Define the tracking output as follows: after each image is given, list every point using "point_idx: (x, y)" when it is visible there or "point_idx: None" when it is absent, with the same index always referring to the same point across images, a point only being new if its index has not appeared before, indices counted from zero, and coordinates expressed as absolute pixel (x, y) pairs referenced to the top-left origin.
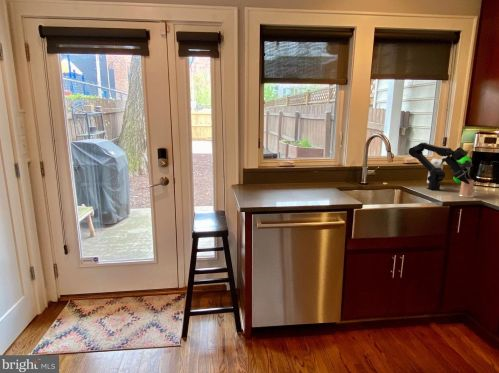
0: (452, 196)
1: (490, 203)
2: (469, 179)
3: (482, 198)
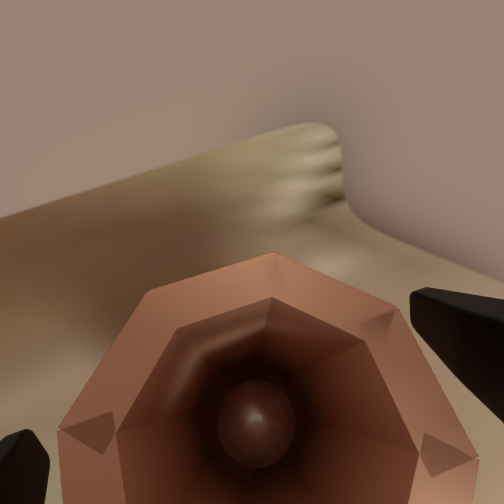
0: (475, 490)
1: (325, 137)
2: (119, 467)
3: (193, 245)
